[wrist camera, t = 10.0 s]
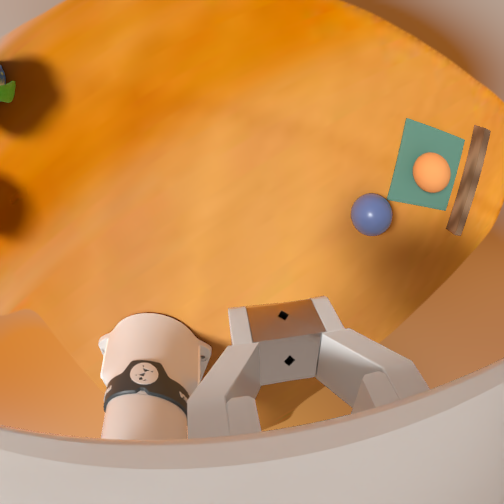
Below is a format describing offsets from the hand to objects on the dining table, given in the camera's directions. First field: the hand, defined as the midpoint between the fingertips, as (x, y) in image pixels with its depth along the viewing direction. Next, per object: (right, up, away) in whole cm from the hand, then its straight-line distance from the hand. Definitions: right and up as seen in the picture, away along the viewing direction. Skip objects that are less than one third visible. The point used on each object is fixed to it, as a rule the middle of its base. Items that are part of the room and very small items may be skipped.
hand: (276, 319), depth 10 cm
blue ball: (+15, +7, +31) cm, 35 cm away
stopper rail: (+33, +14, +33) cm, 49 cm away
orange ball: (+24, +13, +29) cm, 40 cm away
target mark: (+25, +14, +31) cm, 43 cm away
